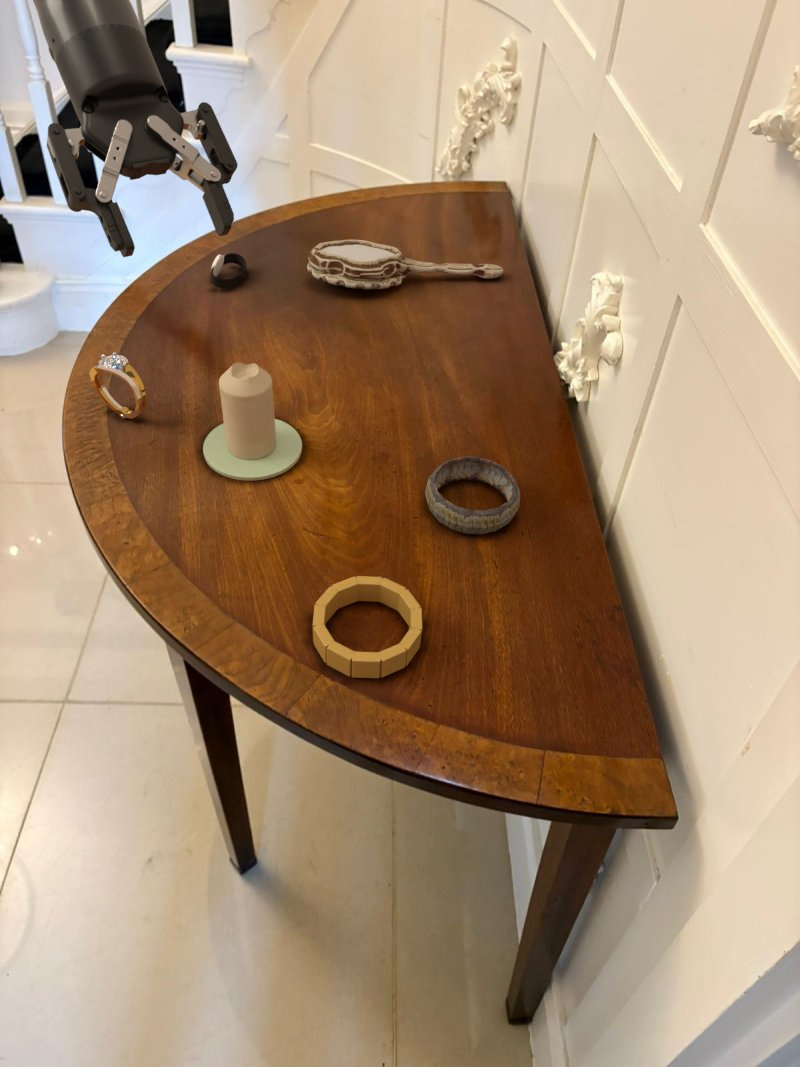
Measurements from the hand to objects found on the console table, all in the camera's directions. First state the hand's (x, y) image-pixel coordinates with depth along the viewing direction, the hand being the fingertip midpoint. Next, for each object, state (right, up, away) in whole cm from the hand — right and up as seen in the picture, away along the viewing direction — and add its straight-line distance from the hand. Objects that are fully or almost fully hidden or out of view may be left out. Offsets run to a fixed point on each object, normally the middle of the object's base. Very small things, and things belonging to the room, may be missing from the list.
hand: (179, 242), depth 66 cm
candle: (+2, -15, +23) cm, 27 cm away
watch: (-7, +13, +50) cm, 52 cm away
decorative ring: (+26, -22, +19) cm, 39 cm away
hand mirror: (+20, +14, +53) cm, 58 cm away
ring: (-14, -11, +26) cm, 31 cm away
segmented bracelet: (+16, -33, +5) cm, 37 cm away
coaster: (+2, -15, +23) cm, 27 cm away
